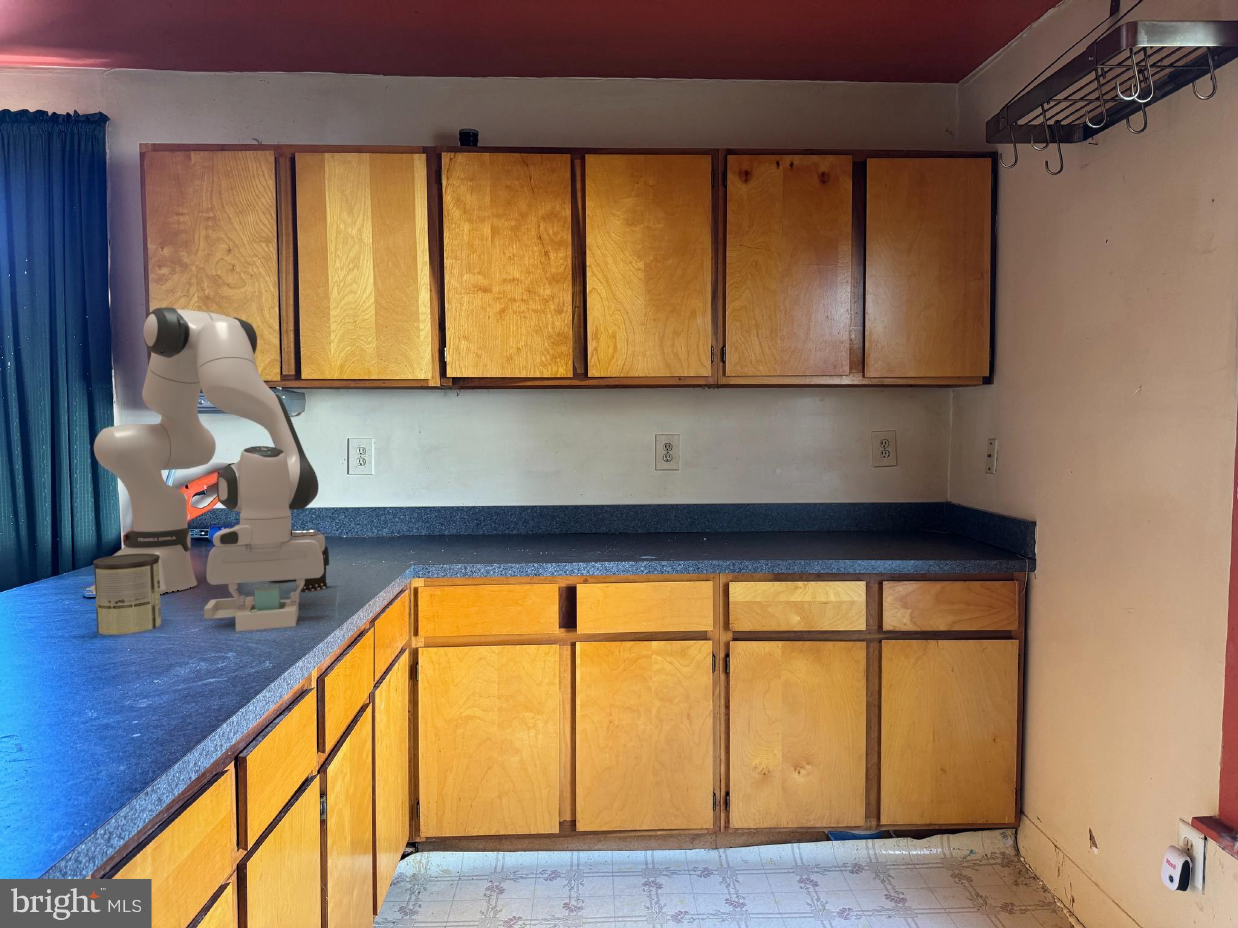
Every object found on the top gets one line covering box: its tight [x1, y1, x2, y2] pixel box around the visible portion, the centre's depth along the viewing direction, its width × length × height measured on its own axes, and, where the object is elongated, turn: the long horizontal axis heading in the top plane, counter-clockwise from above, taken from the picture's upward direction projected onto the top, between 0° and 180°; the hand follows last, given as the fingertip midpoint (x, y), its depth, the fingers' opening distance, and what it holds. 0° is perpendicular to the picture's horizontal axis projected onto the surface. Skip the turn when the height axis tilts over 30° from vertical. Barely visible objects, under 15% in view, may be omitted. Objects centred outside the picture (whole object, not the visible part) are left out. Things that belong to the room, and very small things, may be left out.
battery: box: [295, 544, 330, 593], centre depth 172 cm, size 7×4×11 cm, turn 143°
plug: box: [254, 585, 281, 611], centre depth 143 cm, size 4×4×7 cm
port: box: [235, 598, 299, 632], centre depth 143 cm, size 10×10×4 cm
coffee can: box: [93, 553, 162, 636], centre depth 139 cm, size 10×10×14 cm
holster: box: [203, 596, 255, 620], centre depth 151 cm, size 8×8×3 cm
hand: (268, 603), depth 143 cm, fingers open, 8 cm apart
